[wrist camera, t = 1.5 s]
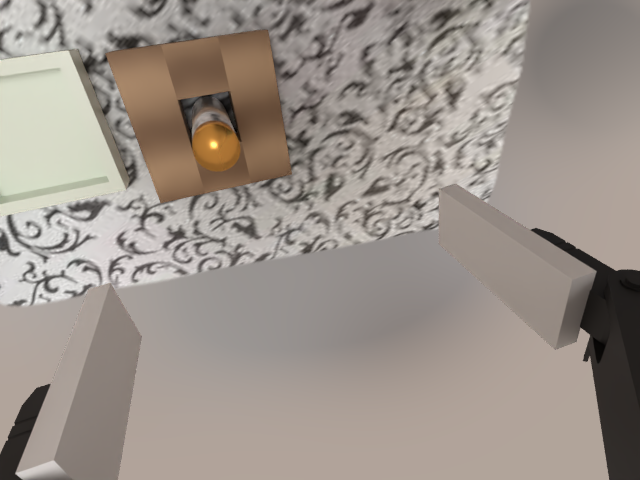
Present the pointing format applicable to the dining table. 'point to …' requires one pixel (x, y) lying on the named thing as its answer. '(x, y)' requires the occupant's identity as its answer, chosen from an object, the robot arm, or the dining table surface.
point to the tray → (53, 135)
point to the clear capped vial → (213, 135)
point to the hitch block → (198, 80)
